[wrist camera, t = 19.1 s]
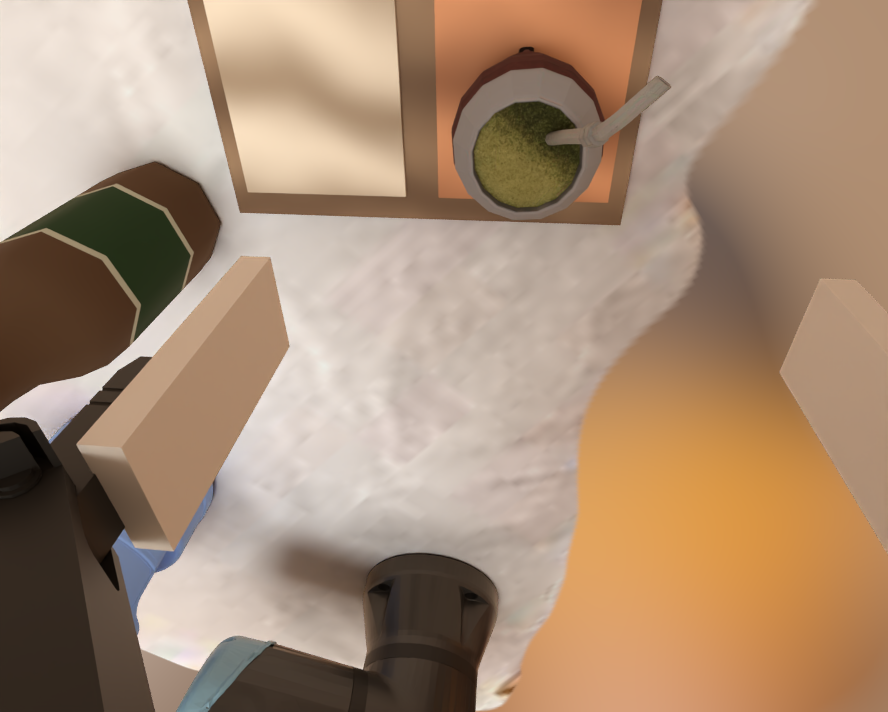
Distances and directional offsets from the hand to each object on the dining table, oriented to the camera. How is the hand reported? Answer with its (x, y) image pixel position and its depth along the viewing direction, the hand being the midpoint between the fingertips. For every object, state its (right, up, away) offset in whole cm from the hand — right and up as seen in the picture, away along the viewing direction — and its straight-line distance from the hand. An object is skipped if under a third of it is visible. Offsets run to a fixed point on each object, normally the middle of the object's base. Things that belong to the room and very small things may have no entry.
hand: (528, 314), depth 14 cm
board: (-3, +14, +18) cm, 23 cm away
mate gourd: (+3, +13, +16) cm, 21 cm away
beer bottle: (-21, +9, +25) cm, 34 cm away
